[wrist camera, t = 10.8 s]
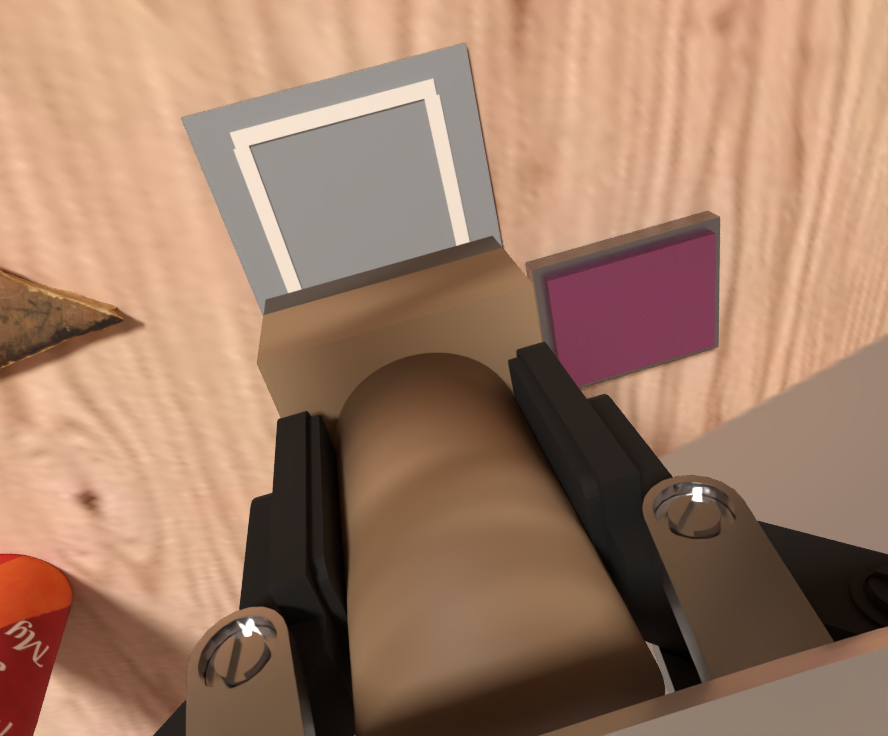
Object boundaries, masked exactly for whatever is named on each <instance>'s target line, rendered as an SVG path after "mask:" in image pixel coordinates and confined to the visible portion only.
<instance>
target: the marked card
mask: <svg viewBox="0 0 888 736" xmlns="http://www.w3.org/2000/svg"><path fill="white" fill-rule="evenodd" d="M181 119H182V122H183V124H184V127H185V129H186V132H187V134H188V136H189V139H190V141H191V144H192V146H193V148H194V151H195V153H196V156H197V158H198V160H199V163H200V165H201V168H202V170H203V173H204V175H205V177H206V180H207V182H208V185H209V187H210V189H211V192H212V194H213V197H214V199H215V202H216V204H217V206H218V209H219V211H220V214H221V216H222V218H223V221H224V223H225V226H226V228H227V230H228V233H229V235H230V238H231V240H232V243H233V245H234V247H235V250H236V252H237V255H238V257H239V259H240V262H241V264H242V267H243V269H244V271H245V274H246V276H247V279H248V281H249V284H250V286H251V288H252V291H253V293H254V296H255V298H256V300H257V303H258V305H259V308H260V310H261V312H262V315H264V307H265V300H266V299H269V298H273V297H276V296H280V295H283V294H287V293H291V292H294V291H298V290H301V289H305V288H308V287H312V286H315V285H319V284H323V283H326V282H330V281H333V280H337V279H340V278H344V277H347V276H351V275H355V274H358V273H362V272H365V271H369V270H372V269H376V268H379V267H383V266H386V265H390V264H394V263H397V262H401V261H404V260H408V259H411V258H415V257H418V256H422V255H426V254H429V253H433V252H436V251H440V250H443V249H447V248H450V247H454V246H458V245H461V244H465V243H468V242H472V241H475V240H479V239H482V238H486V237H489V236H493V237H494V238H495V239H496V240H497V242H498V243H499V244H500V245H501V246H502V244H501V238H500V232H499V227H498V221H497V216H496V210H495V204H494V199H493V193H492V188H491V182H490V176H489V171H488V165H487V160H486V154H485V149H484V143H483V137H482V132H481V126H480V121H479V115H478V109H477V104H476V98H475V93H474V87H473V81H472V76H471V70H470V65H469V59H468V53H467V48H466V43H461V44H458V45H454V46H450V47H446V48H442V49H439V50H435V51H431V52H427V53H423V54H420V55H416V56H412V57H408V58H405V59H401V60H397V61H393V62H389V63H386V64H382V65H378V66H374V67H370V68H367V69H363V70H359V71H355V72H351V73H348V74H344V75H340V76H336V77H332V78H329V79H325V80H321V81H317V82H314V83H310V84H306V85H302V86H298V87H295V88H291V89H287V90H283V91H279V92H276V93H272V94H268V95H264V96H260V97H257V98H253V99H249V100H245V101H241V102H238V103H234V104H230V105H226V106H223V107H219V108H215V109H211V110H207V111H204V112H200V113H196V114H192V115H188V116H185V117H182V118H181Z"/></svg>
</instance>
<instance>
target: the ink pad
mask: <svg viewBox="0 0 888 736" xmlns="http://www.w3.org/2000/svg"><path fill="white" fill-rule="evenodd" d="M525 264H526V270H527V276H528V279H529V280H530V282H531V283H532V284H533V289H534V296H535V302H536V308H537V315H538V321H539V327H540V334H541V340H542V342H546V343H547V344H548V346H549V347H550V349H551V350H552V351H553V353H554V354H555V356H556V357H557V358H558V360H559V361H560V363H561V364H562V365H563V367H564V368H565V369H566V371H567V372H568V374H569V375H570V376H571V378H572V379H573V381H574V382H575V383H576V385H577V386H578V387H579V388H582V387H585V386H588V385H592V384H595V383H598V382H602V381H605V380H609V379H612V378H615V377H619V376H622V375H625V374H629V373H632V372H636V371H639V370H642V369H646V368H649V367H652V366H656V365H659V364H663V363H666V362H669V361H673V360H676V359H680V358H683V357H686V356H690V355H693V354H696V353H700V352H703V351H707V350H710V349H713V348H717V347H718V344H719V265H720V217H719V216H717V215H715V214H713V213H711V212H709V211H706V212H702V213H699V214H695V215H692V216H688V217H685V218H681V219H678V220H674V221H671V222H667V223H664V224H660V225H657V226H653V227H649V228H646V229H642V230H639V231H635V232H632V233H628V234H625V235H621V236H618V237H614V238H611V239H607V240H604V241H600V242H597V243H593V244H590V245H586V246H583V247H579V248H576V249H572V250H569V251H565V252H561V253H558V254H554V255H551V256H547V257H544V258H540V259H537V260H533V261H530V262H526V263H525Z"/></svg>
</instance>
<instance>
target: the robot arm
mask: <svg viewBox="0 0 888 736" xmlns="http://www.w3.org/2000/svg"><path fill="white" fill-rule="evenodd" d="M508 366H509V372H510V377H511V382H512V387H513V392H514V397H515V400H516V402H517V404H518V406H519V408H520V409H521V411H522V413H523V415H524V417H525V419H526V421H527V422H528V424H529V426H530V428H531V430H532V432H533V434H534V435H535V437H536V439H537V441H538V443H539V445H540V447H541V449H542V450H543V452H544V454H545V456H546V458H547V460H548V462H549V463H550V465H551V467H552V469H553V471H554V473H555V475H556V476H557V478H558V480H559V482H560V484H561V486H562V488H563V490H564V491H565V493H566V495H567V497H568V499H569V501H570V503H571V504H572V506H573V508H574V510H575V512H576V514H577V516H578V517H579V519H580V521H581V523H582V525H583V527H584V529H585V531H586V532H587V534H588V536H589V538H590V540H591V542H592V543H593V545H594V547H595V549H596V551H597V553H598V555H599V556H600V558H601V560H602V562H603V564H604V566H605V568H606V569H607V571H608V573H609V575H610V577H611V579H612V581H613V583H614V584H615V586H616V588H617V590H618V592H619V594H620V596H621V597H622V599H623V601H624V603H625V605H626V607H627V609H628V610H629V612H630V614H631V616H632V618H633V620H634V622H635V624H636V625H637V627H638V629H639V631H640V633H641V635H642V637H643V638H644V640H645V641H647V642H649V643H652V644H653V649H654V653H655V656H656V658H657V661H658V664H659V667H660V670H661V673H662V675H663V678H664V681H665V684H666V687H667V689H668V692H669V694H667V695H664V696H661V697H657V698H654V699H651V700H648V701H645V702H642V703H639V704H635V705H632V706H629V707H626V708H623V709H620V710H617V711H614V712H611V713H607V714H604V715H601V716H598V717H595V718H592V719H589V720H586V721H583V722H580V723H577V724H574V725H570V726H567V727H564V728H561V729H558V730H555V731H552V732H549V733H546V734H543V735H540V736H888V554H884V553H881V552H877V551H873V550H869V549H865V548H861V547H857V546H853V545H849V544H846V543H842V542H838V541H834V540H830V539H826V538H822V537H819V536H814V535H811V534H807V533H803V532H799V531H795V530H791V529H788V528H784V527H780V526H776V525H772V524H768V523H764V522H761V521H757V520H756V518H755V517H754V515H753V513H752V512H751V510H750V509H749V507H748V506H747V504H746V502H745V501H744V500H743V498H742V497H741V496H740V495H739V494H738V493H737V492H736V491H735V490H734V489H733V488H731V487H729V486H728V485H726V484H725V483H723V482H721V481H718V480H715V479H712V478H709V477H703V476H695V475H686V476H676V477H672V475H671V474H670V473H669V472H668V470H667V469H666V468H665V467H664V466H663V464H662V463H661V461H660V460H659V459H658V458H657V456H656V455H655V454H654V452H653V451H652V450H651V449H650V447H649V446H648V445H647V444H646V442H645V441H644V440H643V438H642V437H641V436H640V435H639V433H638V432H637V431H636V430H635V428H634V427H633V426H632V424H631V423H630V422H629V421H628V419H627V418H626V417H625V415H624V414H623V413H622V412H621V410H620V409H619V408H618V407H617V405H616V404H615V403H614V401H613V400H612V399H611V398H610V397H609V396H608V395H606V394H603V395H599V396H596V397H592V398H589V399H586V397H585V396H584V394H583V393H582V392H581V390H580V389H579V387H578V386H577V385H576V383H575V382H574V381H573V379H572V378H571V376H570V375H569V374H568V372H567V371H566V369H565V368H564V367H563V365H562V364H561V363H560V361H559V360H558V358H557V357H556V356H555V354H554V353H553V351H552V350H551V349H550V347H549V346H548V344H547V343H546V342H541V343H537V344H534V345H530V346H527V347H523V348H520V349H517V350H516V358H513V359H509V360H508ZM354 735H355V722H354V707H353V693H352V678H351V663H350V649H349V634H348V620H347V604H346V590H345V575H344V561H343V546H342V532H341V517H340V503H339V488H338V474H337V459H336V451H335V448H334V446H333V443H332V441H331V438H330V436H329V433H328V431H327V428H326V425H325V423H324V421H323V418H322V417H321V415H318V416H314V417H311V415H310V414H309V412H308V411H304V412H301V413H297V414H294V415H290V416H287V417H284V418H280V419H278V421H277V433H276V448H275V463H274V478H273V492H272V493H270V494H267V495H263V496H260V497H257V498H254V499H253V500H252V503H251V507H250V516H249V525H248V534H247V543H246V552H245V562H244V571H243V580H242V589H241V598H240V607H239V611H235V612H233V613H232V614H230V615H228V616H226V617H224V618H223V619H221V620H220V621H218V622H217V623H216V624H215V625H214V626H212V627H211V628H210V629H209V630H208V631H207V632H206V633H205V634H204V635H203V637H202V638H201V639H200V640H199V642H198V643H197V644H196V646H195V648H194V650H193V652H192V654H191V656H190V658H189V663H188V669H187V685H186V700H185V701H184V703H183V704H182V705H181V706H180V707H179V708H178V709H177V710H176V711H175V712H174V713H173V714H172V716H171V717H170V718H169V719H168V720H167V721H166V722H165V723H164V724H163V725H162V726H161V728H160V729H159V730H158V731H157V732H156V733H155V734H154V735H153V736H354Z"/></svg>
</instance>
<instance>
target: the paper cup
mask: <svg viewBox="0 0 888 736" xmlns="http://www.w3.org/2000/svg"><path fill="white" fill-rule="evenodd" d="M72 595H73V594H72V588H71V585H70V583H69V581H68V579H67V578H66V577H65V575H64V574H63V573H62V572H61V571H59V570H58V569H57V568H55V567H54V566H52V565H51V564H49V563H47V562H45V561H42V560H40V559H37V558H34V557H30V556H25V555H19V554H0V736H33V734H34V731H35V728H36V725H37V722H38V718H39V715H40V711H41V708H42V704H43V701H44V697H45V694H46V690H47V687H48V683H49V680H50V676H51V672H52V669H53V666H54V662H55V659H56V656H57V652H58V649H59V646H60V643H61V639H62V636H63V633H64V629H65V626H66V622H67V619H68V615H69V611H70V607H71V603H72Z"/></svg>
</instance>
